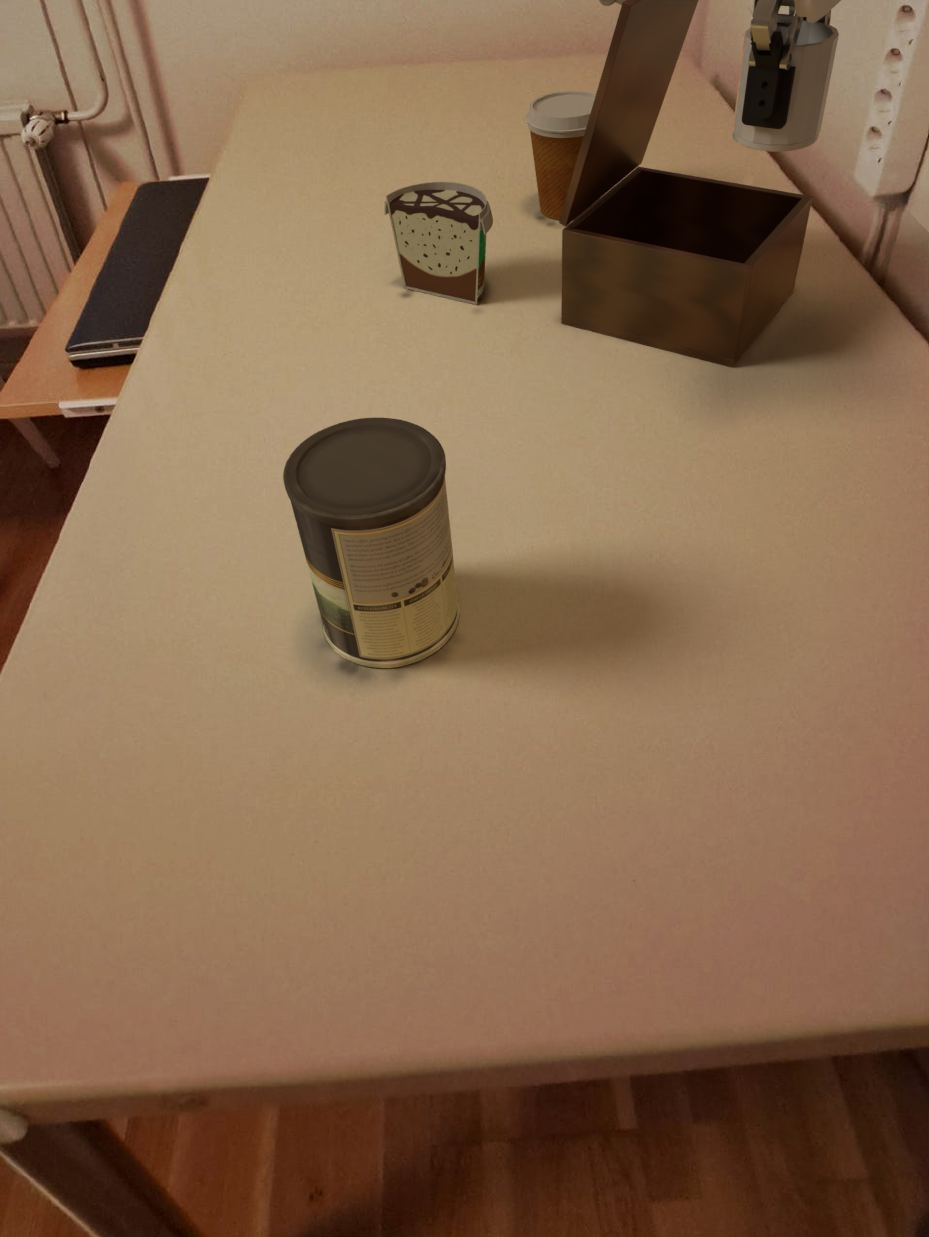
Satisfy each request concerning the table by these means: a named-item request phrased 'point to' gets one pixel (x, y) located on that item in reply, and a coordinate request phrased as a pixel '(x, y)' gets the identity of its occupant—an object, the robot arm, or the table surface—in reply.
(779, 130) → the white cup
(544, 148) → the disposable coffee cup
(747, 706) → the table surface
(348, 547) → the coffee can
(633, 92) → the chest lid
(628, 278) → the storage chest
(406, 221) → the food container
